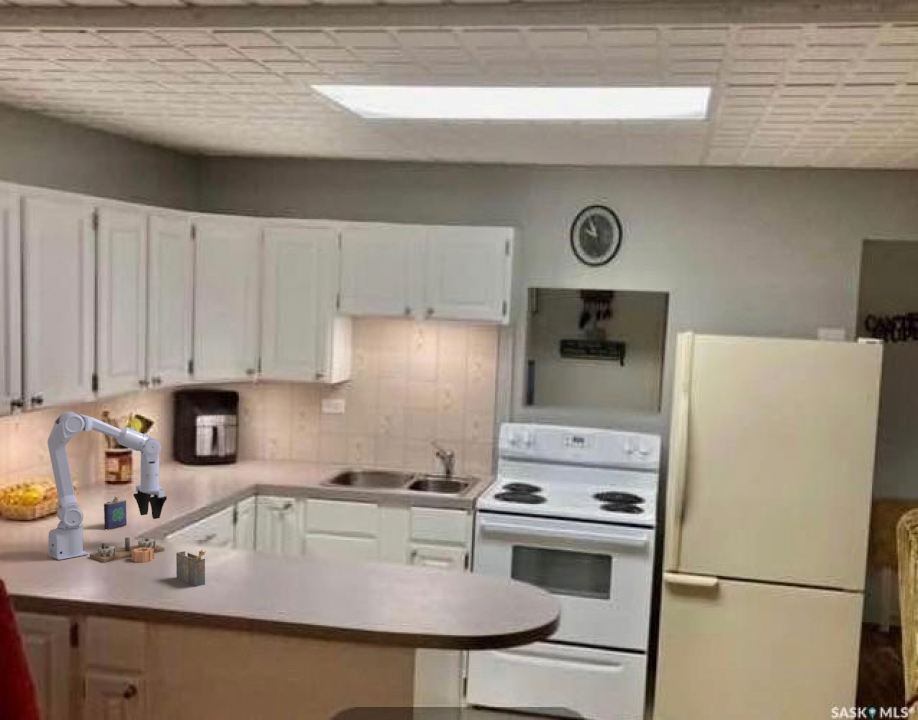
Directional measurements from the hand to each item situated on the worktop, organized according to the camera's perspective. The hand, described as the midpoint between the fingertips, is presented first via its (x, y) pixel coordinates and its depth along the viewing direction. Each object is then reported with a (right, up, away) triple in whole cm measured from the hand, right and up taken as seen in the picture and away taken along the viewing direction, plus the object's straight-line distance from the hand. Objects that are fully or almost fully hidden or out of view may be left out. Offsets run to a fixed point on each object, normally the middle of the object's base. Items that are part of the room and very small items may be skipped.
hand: (150, 516), depth 305 cm
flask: (-20, -8, +26) cm, 34 cm away
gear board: (-4, -10, -10) cm, 15 cm away
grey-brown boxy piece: (+24, -12, -39) cm, 47 cm away
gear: (+3, -10, -16) cm, 20 cm away
